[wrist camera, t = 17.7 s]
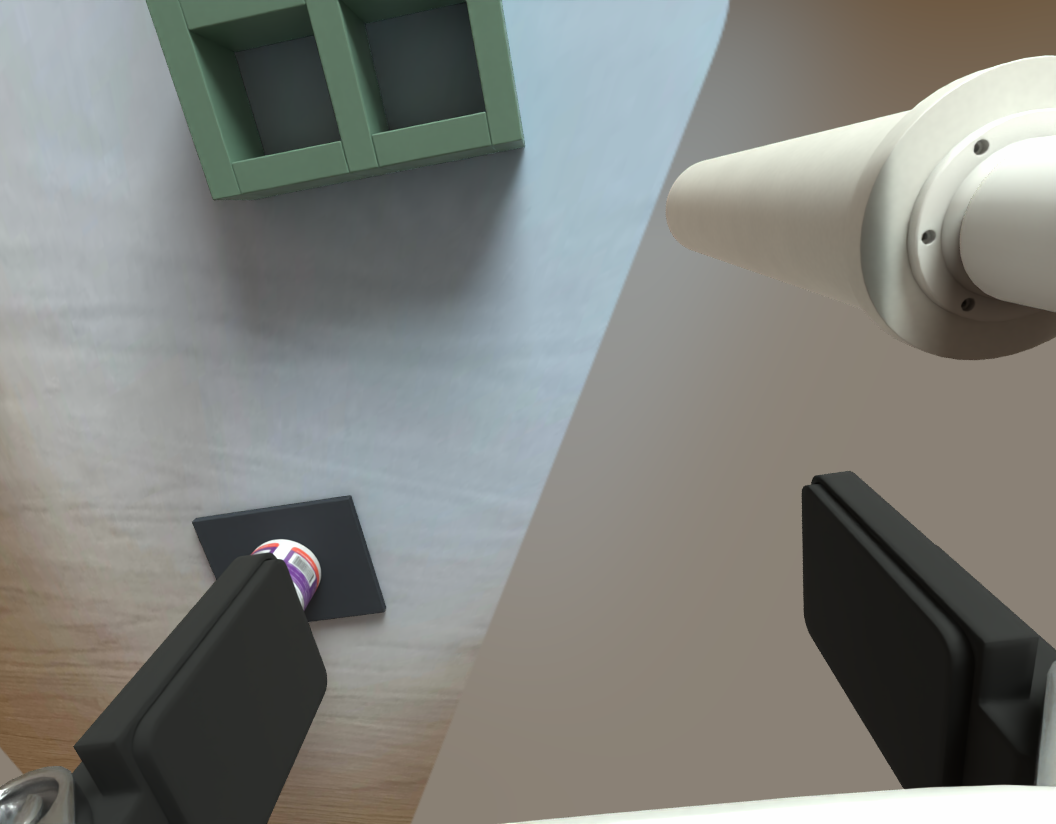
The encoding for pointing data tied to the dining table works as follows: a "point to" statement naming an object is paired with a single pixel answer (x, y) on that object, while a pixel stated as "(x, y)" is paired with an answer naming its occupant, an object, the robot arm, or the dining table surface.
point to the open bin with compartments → (338, 27)
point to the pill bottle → (296, 566)
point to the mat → (319, 529)
